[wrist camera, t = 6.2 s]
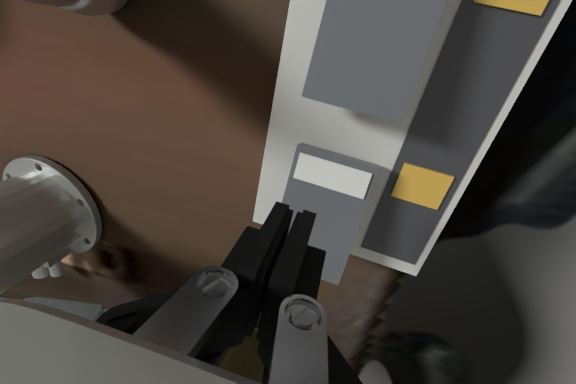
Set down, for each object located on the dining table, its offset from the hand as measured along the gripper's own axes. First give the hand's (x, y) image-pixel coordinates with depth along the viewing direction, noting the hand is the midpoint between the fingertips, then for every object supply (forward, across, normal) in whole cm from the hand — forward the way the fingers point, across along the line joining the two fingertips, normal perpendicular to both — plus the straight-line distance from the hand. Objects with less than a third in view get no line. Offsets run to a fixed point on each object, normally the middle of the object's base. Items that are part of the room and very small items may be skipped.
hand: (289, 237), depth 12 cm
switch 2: (+7, -1, +3) cm, 8 cm away
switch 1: (+7, -1, -8) cm, 11 cm away
